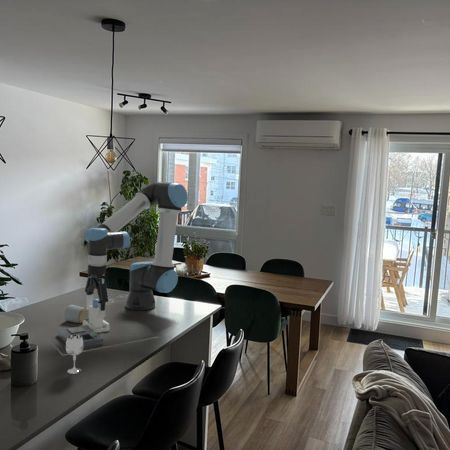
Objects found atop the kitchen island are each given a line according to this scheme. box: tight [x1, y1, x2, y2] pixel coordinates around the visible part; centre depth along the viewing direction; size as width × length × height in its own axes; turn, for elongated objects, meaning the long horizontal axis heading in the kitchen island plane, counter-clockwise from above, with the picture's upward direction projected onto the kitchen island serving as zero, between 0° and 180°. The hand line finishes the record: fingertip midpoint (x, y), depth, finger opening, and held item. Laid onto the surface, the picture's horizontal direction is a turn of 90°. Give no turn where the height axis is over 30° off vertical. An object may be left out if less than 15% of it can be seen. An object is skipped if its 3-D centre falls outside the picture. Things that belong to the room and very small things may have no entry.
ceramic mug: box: [64, 304, 89, 324], centre depth 205 cm, size 11×8×8 cm
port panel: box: [57, 325, 104, 349], centre depth 181 cm, size 12×18×3 cm, turn 37°
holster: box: [82, 319, 110, 334], centre depth 194 cm, size 8×9×4 cm
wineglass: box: [65, 335, 84, 375], centre depth 153 cm, size 6×6×12 cm
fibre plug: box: [88, 298, 104, 330], centre depth 193 cm, size 4×4×13 cm
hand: (95, 313), depth 193 cm, fingers open, 13 cm apart
